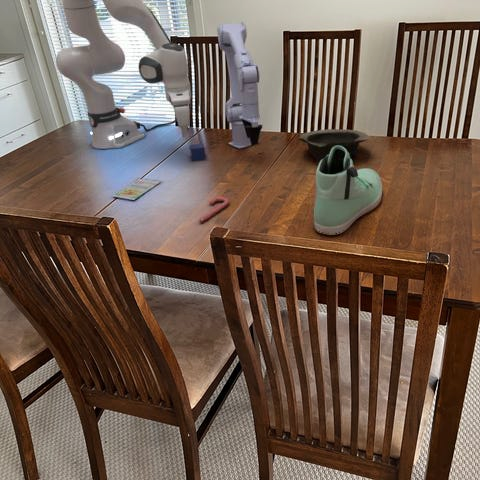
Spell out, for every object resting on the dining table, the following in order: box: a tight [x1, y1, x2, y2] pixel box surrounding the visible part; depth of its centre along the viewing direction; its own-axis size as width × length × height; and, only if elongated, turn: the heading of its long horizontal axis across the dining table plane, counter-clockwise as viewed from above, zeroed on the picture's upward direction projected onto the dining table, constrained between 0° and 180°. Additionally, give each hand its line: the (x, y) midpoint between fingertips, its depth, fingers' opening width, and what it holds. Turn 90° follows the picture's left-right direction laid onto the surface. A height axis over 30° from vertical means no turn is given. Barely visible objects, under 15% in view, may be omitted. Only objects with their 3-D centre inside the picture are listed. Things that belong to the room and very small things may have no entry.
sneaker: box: [313, 146, 383, 236], centre depth 133 cm, size 14×35×20 cm, turn 152°
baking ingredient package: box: [112, 178, 161, 201], centre depth 160 cm, size 9×1×15 cm
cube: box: [189, 142, 207, 162], centre depth 180 cm, size 5×5×5 cm
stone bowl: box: [298, 128, 371, 163], centre depth 172 cm, size 25×25×9 cm
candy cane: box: [198, 196, 230, 223], centre depth 143 cm, size 6×15×2 cm, turn 145°
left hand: (183, 131), depth 175 cm, fingers open, 8 cm apart
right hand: (252, 140), depth 171 cm, fingers open, 7 cm apart
